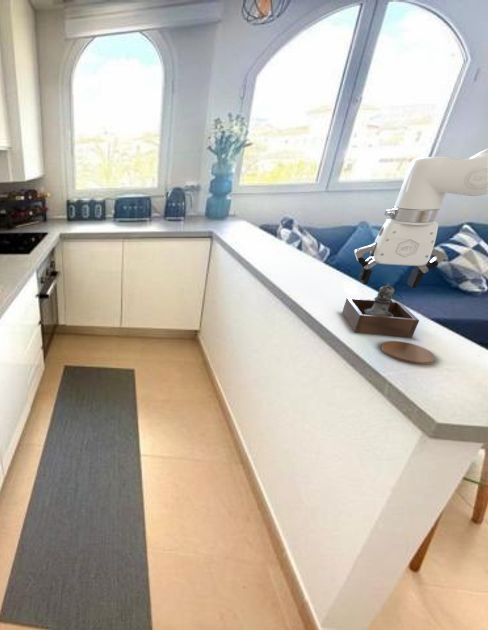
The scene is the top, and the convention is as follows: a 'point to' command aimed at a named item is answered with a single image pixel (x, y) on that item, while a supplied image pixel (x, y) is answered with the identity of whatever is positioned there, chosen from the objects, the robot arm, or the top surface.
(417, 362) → the coaster
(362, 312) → the crate
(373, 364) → the top surface
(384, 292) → the stone chess piece
